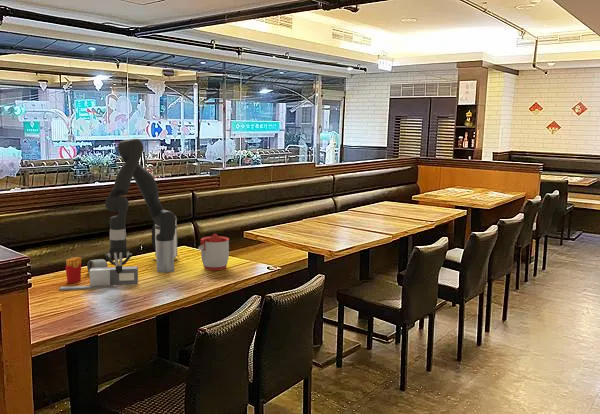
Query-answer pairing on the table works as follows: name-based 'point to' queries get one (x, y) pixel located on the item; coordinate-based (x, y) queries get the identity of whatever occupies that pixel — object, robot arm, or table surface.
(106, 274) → the sliding shutter
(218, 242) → the citrus juicer
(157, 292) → the table surface
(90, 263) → the ceramic mug
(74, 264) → the french fries
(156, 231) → the coffee press
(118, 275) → the grey box with rod
